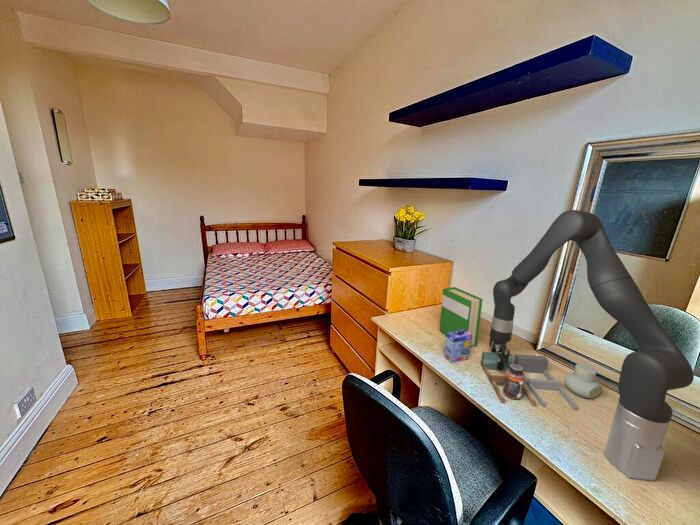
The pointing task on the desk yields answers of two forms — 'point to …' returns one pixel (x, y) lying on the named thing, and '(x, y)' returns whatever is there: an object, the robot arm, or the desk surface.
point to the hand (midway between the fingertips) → (496, 363)
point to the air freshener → (583, 381)
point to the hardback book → (460, 312)
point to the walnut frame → (490, 362)
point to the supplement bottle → (514, 382)
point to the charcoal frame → (540, 366)
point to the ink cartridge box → (458, 345)
